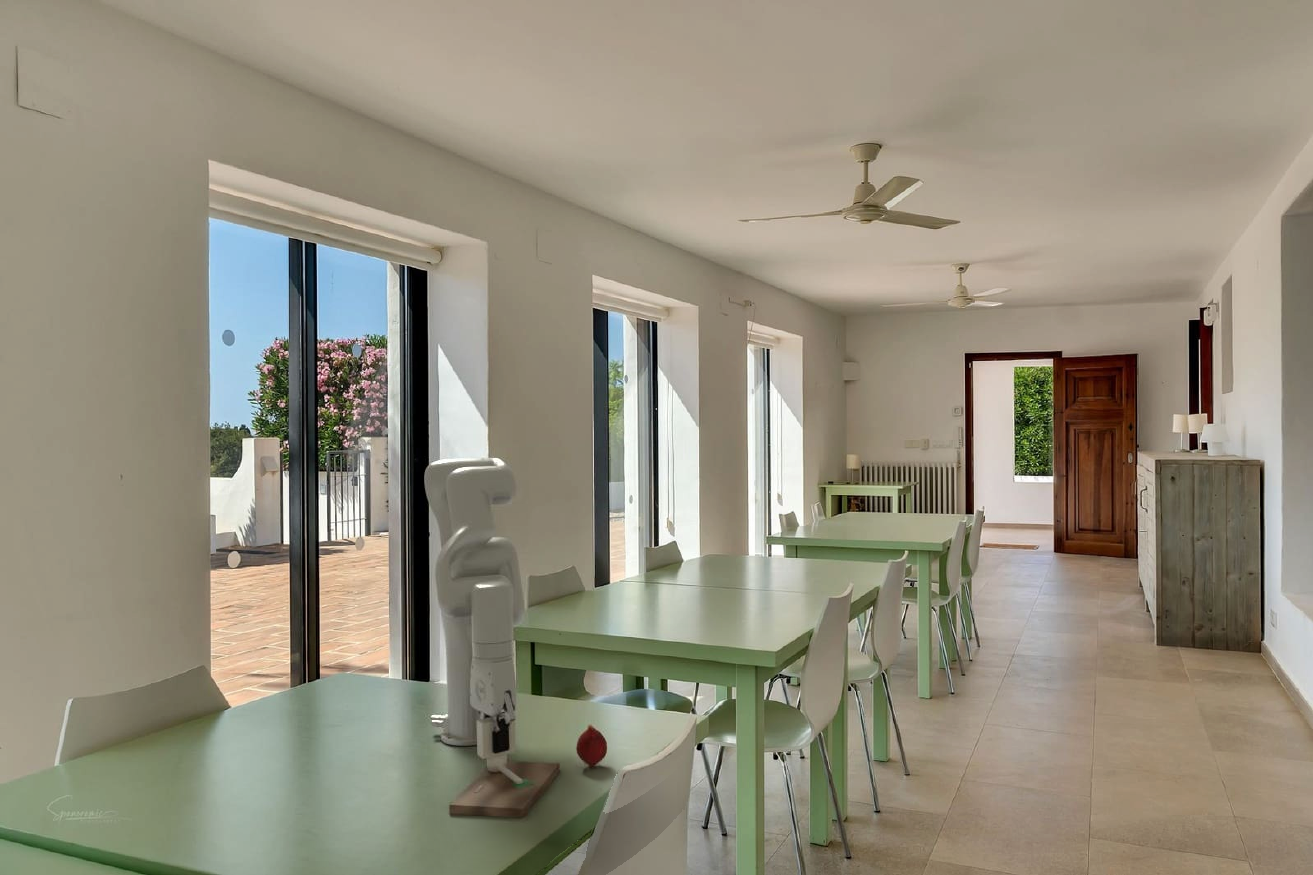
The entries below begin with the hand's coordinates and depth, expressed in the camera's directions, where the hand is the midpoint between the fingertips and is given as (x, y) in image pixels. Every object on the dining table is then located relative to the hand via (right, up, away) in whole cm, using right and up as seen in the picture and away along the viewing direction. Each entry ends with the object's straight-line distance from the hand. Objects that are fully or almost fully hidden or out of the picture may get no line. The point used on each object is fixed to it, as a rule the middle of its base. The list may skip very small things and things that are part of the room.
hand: (495, 747), depth 168 cm
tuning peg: (+3, -4, -4) cm, 6 cm away
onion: (+17, -6, +5) cm, 19 cm away
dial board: (+3, -6, -6) cm, 9 cm away
